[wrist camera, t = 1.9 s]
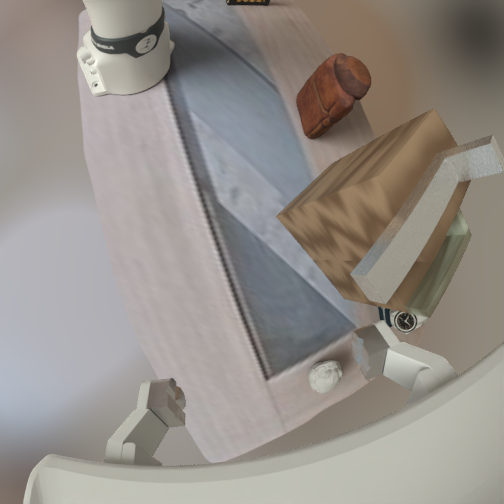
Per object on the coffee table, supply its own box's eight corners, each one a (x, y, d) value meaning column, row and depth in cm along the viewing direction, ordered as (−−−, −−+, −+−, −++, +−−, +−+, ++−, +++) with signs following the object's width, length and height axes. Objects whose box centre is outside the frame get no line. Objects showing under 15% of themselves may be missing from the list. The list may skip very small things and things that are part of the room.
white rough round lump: (332, 350, 48) (352, 362, 41) (326, 383, 48) (345, 397, 41) (304, 352, 47) (322, 365, 40) (299, 386, 46) (315, 402, 40)
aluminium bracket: (349, 274, 19) (432, 281, 12) (436, 153, 23) (492, 134, 15) (369, 300, 20) (449, 316, 12) (449, 176, 24) (505, 161, 16)
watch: (370, 303, 51) (408, 312, 40) (396, 290, 53) (434, 295, 42) (374, 328, 51) (410, 340, 40) (400, 313, 53) (436, 321, 42)
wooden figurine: (330, 141, 49) (389, 102, 32) (302, 140, 47) (356, 94, 30) (317, 92, 49) (365, 44, 31) (290, 89, 47) (332, 35, 30)
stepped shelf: (276, 216, 46) (378, 175, 20) (332, 163, 49) (434, 108, 24) (344, 298, 49) (459, 323, 24) (389, 241, 52) (496, 233, 27)
